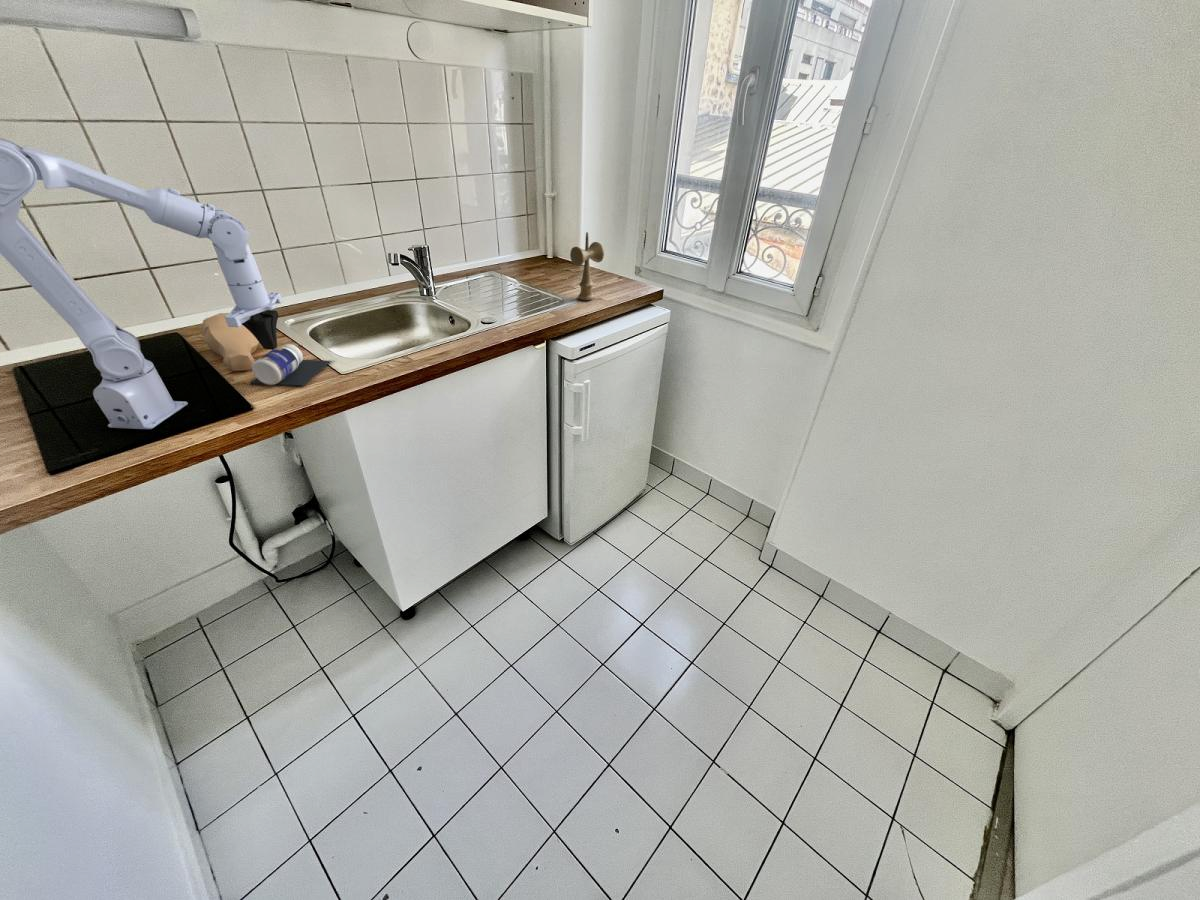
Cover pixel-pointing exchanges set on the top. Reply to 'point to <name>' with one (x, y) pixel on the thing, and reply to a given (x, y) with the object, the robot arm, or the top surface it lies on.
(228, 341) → the squash
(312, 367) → the mat
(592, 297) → the kendama
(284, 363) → the pill bottle
